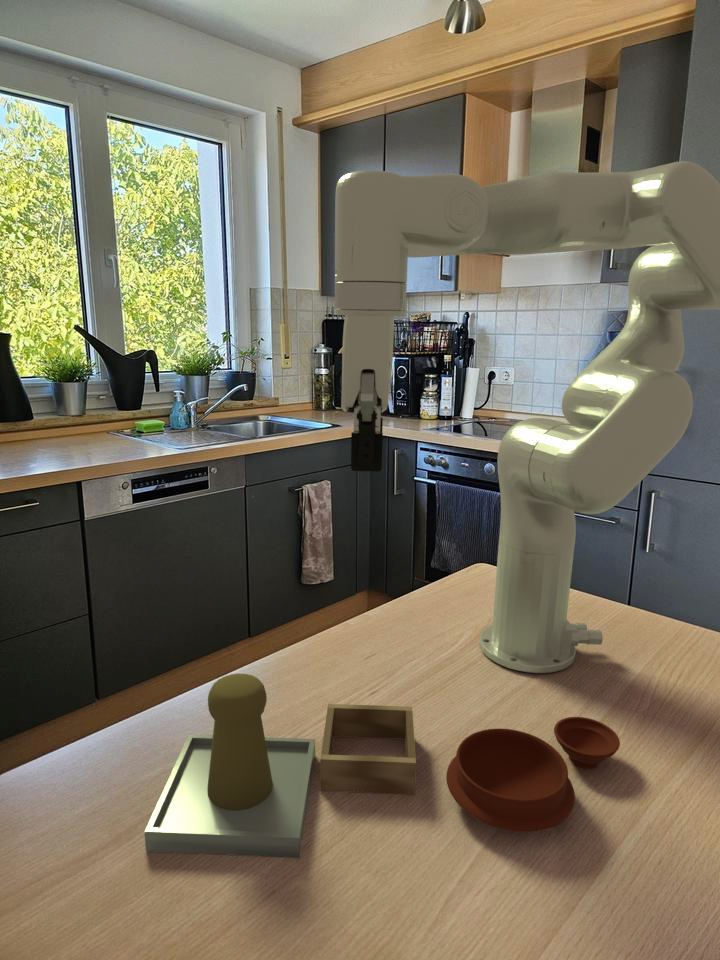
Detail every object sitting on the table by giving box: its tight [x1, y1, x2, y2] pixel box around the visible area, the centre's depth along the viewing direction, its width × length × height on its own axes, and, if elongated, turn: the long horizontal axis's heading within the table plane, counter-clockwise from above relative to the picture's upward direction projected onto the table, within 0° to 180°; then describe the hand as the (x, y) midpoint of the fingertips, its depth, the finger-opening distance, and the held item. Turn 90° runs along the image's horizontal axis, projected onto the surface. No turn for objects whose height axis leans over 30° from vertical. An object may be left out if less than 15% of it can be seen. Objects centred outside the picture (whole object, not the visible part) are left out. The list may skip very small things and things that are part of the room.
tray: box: [144, 734, 316, 859], centre depth 61 cm, size 13×13×2 cm
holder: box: [319, 703, 417, 795], centre depth 67 cm, size 9×9×4 cm
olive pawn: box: [207, 672, 273, 811], centre depth 60 cm, size 6×6×11 cm
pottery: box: [445, 716, 621, 833], centre depth 64 cm, size 12×20×4 cm, turn 123°
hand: (367, 460), depth 74 cm, fingers open, 9 cm apart
